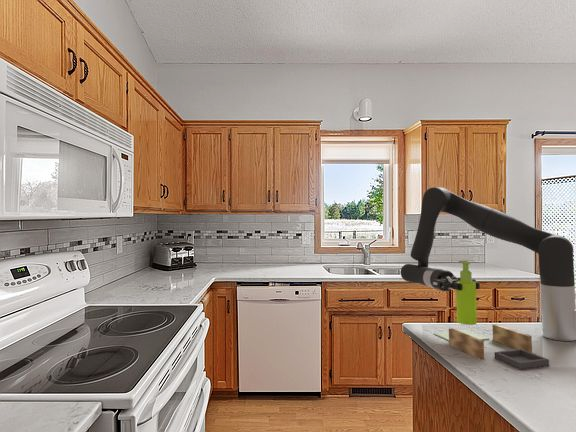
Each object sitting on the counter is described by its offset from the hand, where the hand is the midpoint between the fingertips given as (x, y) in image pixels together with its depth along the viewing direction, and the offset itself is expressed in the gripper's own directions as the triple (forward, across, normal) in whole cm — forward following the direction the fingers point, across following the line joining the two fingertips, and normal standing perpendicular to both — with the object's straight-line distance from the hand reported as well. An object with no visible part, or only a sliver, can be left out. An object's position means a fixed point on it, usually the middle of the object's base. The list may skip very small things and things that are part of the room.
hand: (469, 286), depth 125 cm
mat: (-5, 0, +18) cm, 19 cm away
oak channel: (+8, 0, +18) cm, 19 cm away
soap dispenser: (-2, 0, +12) cm, 12 cm away
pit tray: (+20, 0, +17) cm, 26 cm away
